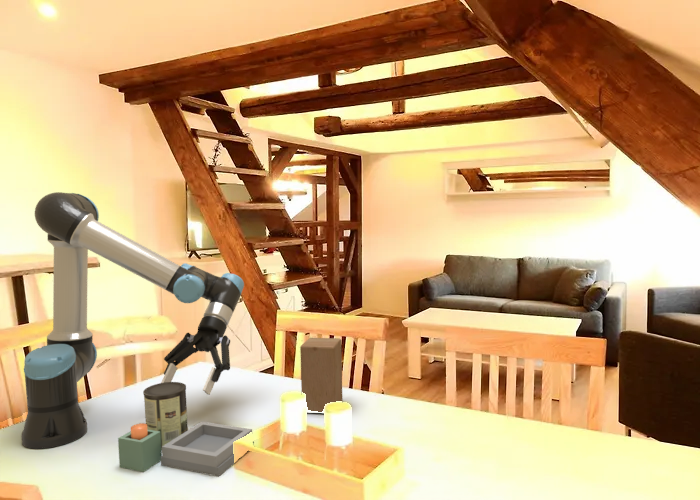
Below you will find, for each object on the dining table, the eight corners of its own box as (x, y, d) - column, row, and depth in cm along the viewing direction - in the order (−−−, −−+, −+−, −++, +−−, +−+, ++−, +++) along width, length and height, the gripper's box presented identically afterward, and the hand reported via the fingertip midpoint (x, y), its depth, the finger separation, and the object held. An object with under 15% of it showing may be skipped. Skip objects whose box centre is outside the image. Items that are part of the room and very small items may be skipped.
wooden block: (335, 415, 148) (333, 347, 147) (301, 413, 150) (299, 345, 149) (342, 402, 158) (341, 338, 156) (311, 401, 160) (309, 337, 158)
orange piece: (128, 449, 121) (127, 428, 121) (139, 442, 124) (138, 422, 124) (140, 451, 120) (139, 430, 119) (151, 444, 123) (150, 424, 123)
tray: (161, 464, 122) (160, 446, 121) (201, 438, 135) (200, 421, 135) (218, 476, 116) (217, 456, 115) (254, 446, 130) (253, 429, 129)
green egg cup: (119, 467, 121) (117, 438, 120) (138, 455, 126) (137, 427, 126) (143, 472, 118) (141, 442, 118) (161, 460, 124) (160, 431, 123)
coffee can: (170, 430, 141) (168, 379, 140) (197, 438, 135) (194, 385, 134) (137, 445, 132) (134, 391, 131) (164, 454, 127) (161, 398, 126)
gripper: (257, 331, 149) (230, 400, 136) (185, 326, 158) (154, 391, 145) (247, 316, 144) (218, 388, 131) (173, 312, 152) (139, 378, 140)
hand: (184, 390), depth 138 cm, fingers open, 13 cm apart
